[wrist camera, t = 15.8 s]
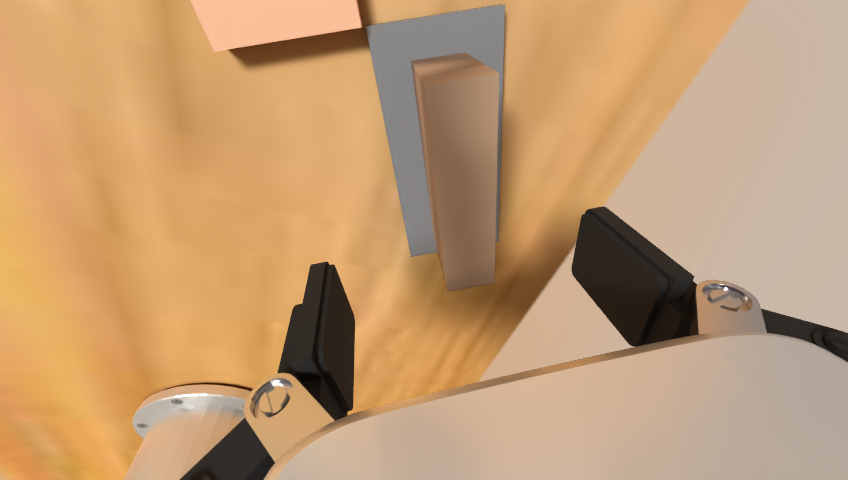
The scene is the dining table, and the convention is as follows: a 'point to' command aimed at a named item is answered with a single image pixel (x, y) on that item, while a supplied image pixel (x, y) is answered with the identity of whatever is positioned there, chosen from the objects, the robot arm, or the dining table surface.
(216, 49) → the tile
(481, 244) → the brown rectangular pillar
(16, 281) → the dining table surface
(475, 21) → the mat
